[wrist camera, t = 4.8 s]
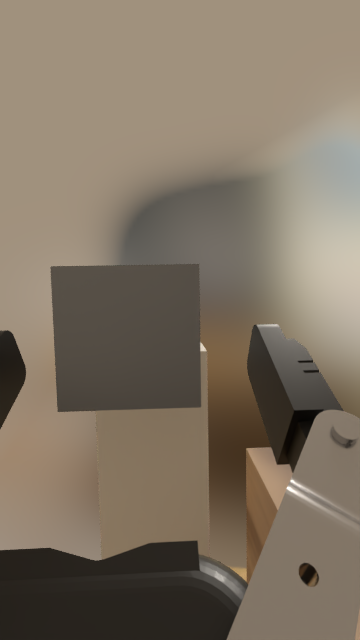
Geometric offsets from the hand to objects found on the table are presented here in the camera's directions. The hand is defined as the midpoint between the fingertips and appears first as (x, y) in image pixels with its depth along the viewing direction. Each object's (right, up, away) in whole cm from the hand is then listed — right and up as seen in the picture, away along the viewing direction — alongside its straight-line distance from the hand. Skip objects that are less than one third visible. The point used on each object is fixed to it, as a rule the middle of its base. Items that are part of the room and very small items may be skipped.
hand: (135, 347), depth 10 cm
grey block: (0, -1, +10) cm, 10 cm away
